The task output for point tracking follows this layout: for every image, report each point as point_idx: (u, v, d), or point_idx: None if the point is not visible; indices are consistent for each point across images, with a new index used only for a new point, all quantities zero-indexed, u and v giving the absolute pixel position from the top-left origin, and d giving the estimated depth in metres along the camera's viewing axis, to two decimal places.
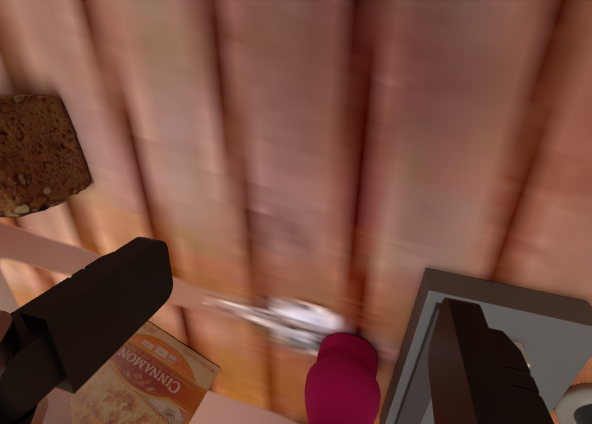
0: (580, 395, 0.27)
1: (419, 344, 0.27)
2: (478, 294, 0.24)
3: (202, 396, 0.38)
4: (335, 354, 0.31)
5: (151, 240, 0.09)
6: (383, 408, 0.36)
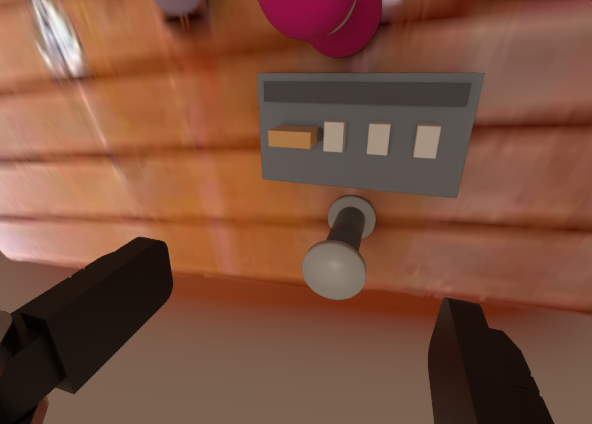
0: (368, 205, 0.38)
1: (414, 80, 0.30)
2: None
3: None
4: None
5: (151, 240, 0.09)
6: None
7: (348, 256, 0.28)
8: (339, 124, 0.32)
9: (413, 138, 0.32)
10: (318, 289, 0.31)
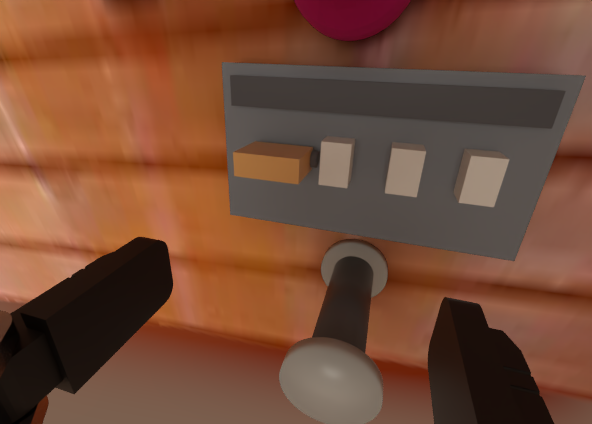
0: (378, 256, 0.27)
1: (466, 83, 0.19)
2: None
3: None
4: None
5: (151, 240, 0.09)
6: None
7: (356, 371, 0.17)
8: (344, 146, 0.20)
9: (456, 171, 0.21)
10: (304, 408, 0.19)
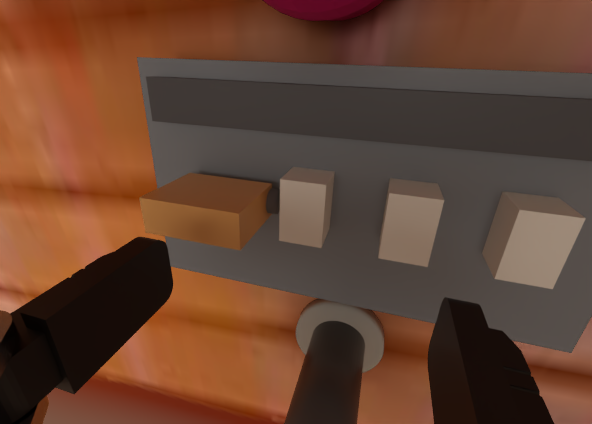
0: (371, 323, 0.20)
1: (510, 90, 0.12)
2: None
3: None
4: None
5: (151, 240, 0.09)
6: None
7: None
8: (315, 187, 0.13)
9: (487, 224, 0.14)
10: None
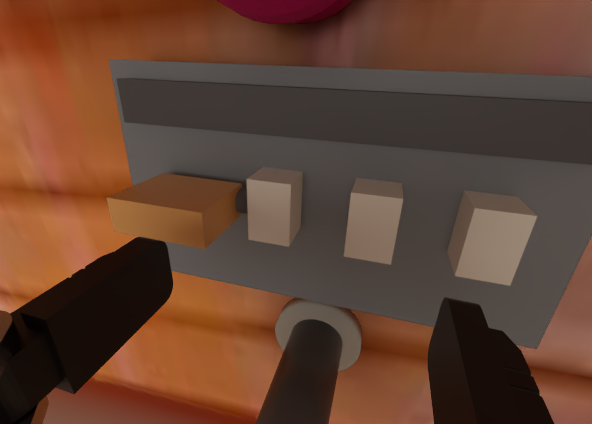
0: (348, 321, 0.20)
1: (466, 90, 0.12)
2: None
3: None
4: None
5: (151, 240, 0.09)
6: None
7: None
8: (281, 187, 0.13)
9: (451, 222, 0.14)
10: None
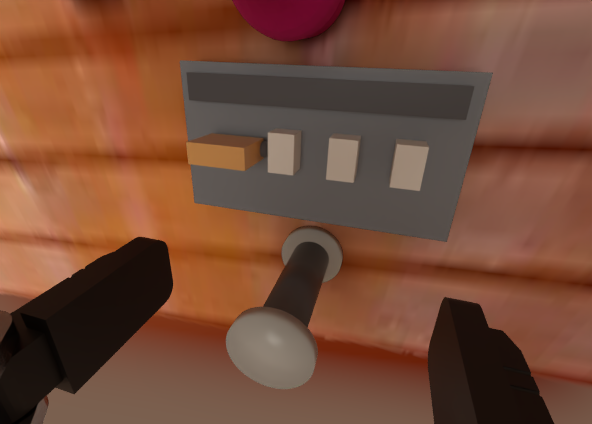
0: (332, 241, 0.29)
1: (393, 79, 0.21)
2: None
3: None
4: None
5: (151, 240, 0.09)
6: None
7: (289, 335, 0.19)
8: (288, 137, 0.22)
9: (390, 160, 0.23)
10: (250, 373, 0.21)
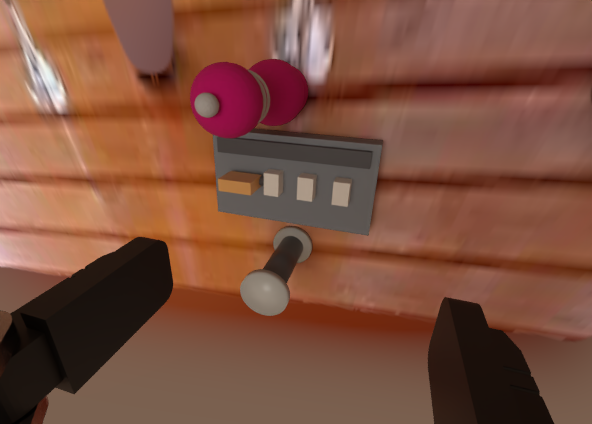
0: (305, 235, 0.47)
1: (332, 145, 0.38)
2: None
3: None
4: None
5: (151, 240, 0.09)
6: None
7: (274, 283, 0.36)
8: (275, 175, 0.40)
9: None
10: (253, 307, 0.39)
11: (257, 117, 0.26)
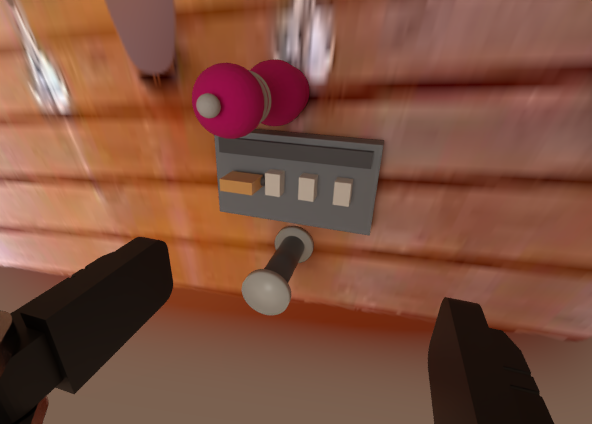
0: (306, 235, 0.47)
1: (333, 145, 0.38)
2: None
3: None
4: None
5: (151, 240, 0.09)
6: None
7: (275, 283, 0.36)
8: (276, 175, 0.40)
9: None
10: (255, 306, 0.39)
11: (259, 117, 0.26)
